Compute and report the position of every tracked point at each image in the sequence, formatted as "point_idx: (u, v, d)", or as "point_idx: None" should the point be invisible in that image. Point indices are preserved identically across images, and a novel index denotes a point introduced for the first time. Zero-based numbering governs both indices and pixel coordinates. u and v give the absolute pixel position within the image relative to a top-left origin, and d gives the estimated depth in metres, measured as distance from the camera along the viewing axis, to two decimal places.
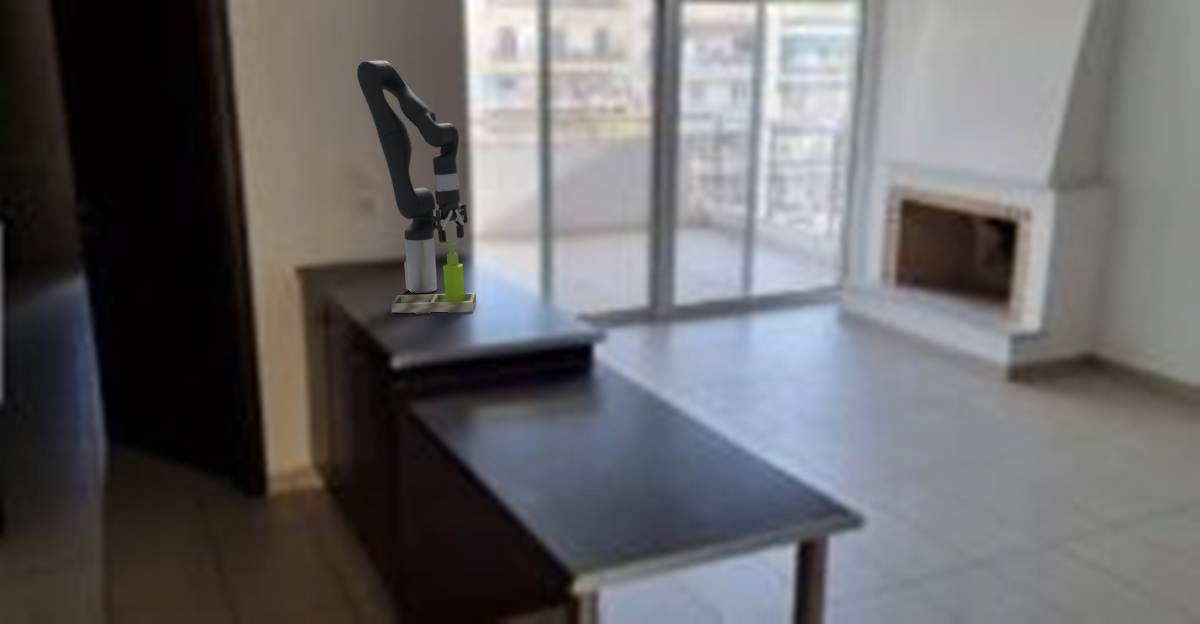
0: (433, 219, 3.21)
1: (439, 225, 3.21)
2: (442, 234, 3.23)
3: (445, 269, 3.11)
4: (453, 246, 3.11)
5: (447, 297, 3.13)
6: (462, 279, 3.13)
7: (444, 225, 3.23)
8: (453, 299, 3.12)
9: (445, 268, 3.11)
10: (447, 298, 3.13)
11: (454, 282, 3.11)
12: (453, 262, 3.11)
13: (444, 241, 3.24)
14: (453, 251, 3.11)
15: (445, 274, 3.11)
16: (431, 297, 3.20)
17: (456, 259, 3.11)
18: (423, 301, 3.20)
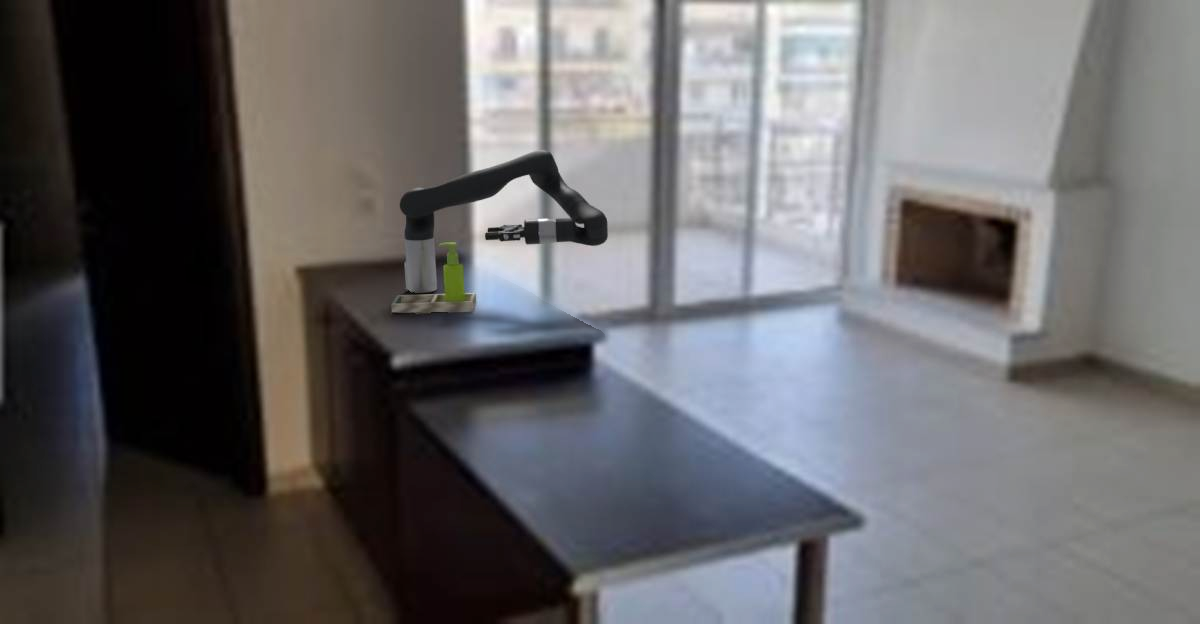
0: (509, 234, 3.03)
1: (503, 240, 3.04)
2: (493, 238, 3.06)
3: (445, 269, 3.11)
4: (453, 246, 3.11)
5: (447, 297, 3.13)
6: (462, 279, 3.13)
7: None
8: (453, 299, 3.12)
9: (445, 268, 3.11)
10: (447, 298, 3.13)
11: (454, 282, 3.11)
12: (453, 262, 3.11)
13: (486, 239, 3.06)
14: (453, 251, 3.11)
15: (445, 274, 3.11)
16: (431, 297, 3.20)
17: (456, 259, 3.11)
18: (423, 301, 3.20)
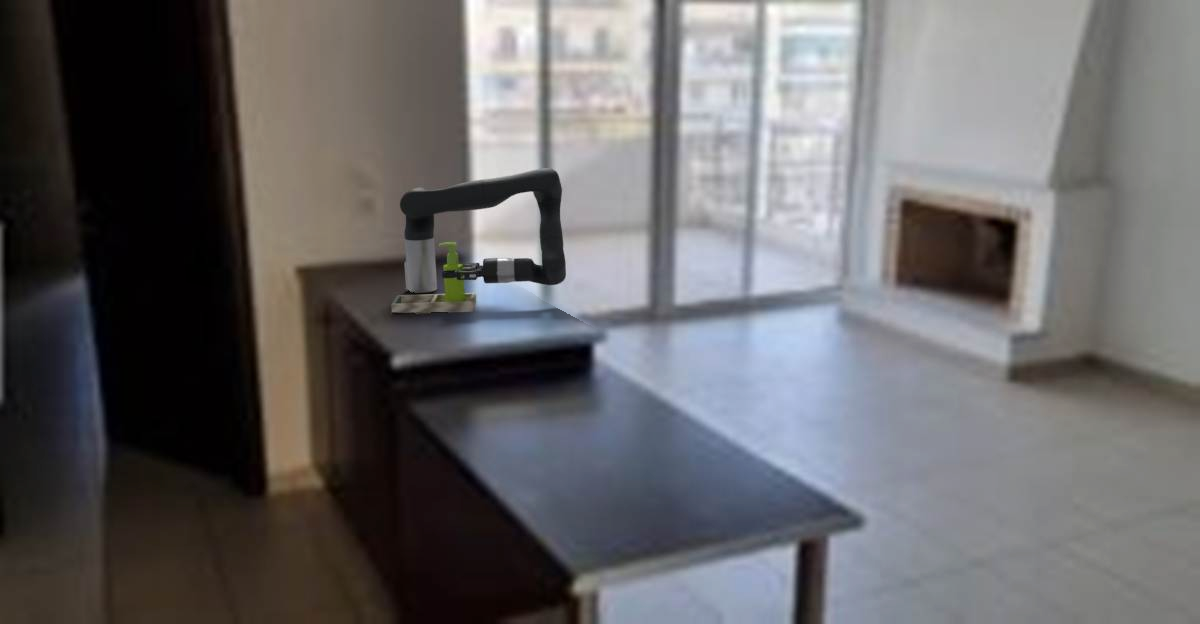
0: (465, 274, 3.07)
1: None
2: (450, 276, 3.09)
3: (445, 269, 3.11)
4: (453, 246, 3.11)
5: (447, 297, 3.13)
6: None
7: None
8: (453, 299, 3.12)
9: (445, 268, 3.11)
10: (447, 298, 3.13)
11: (454, 282, 3.11)
12: (453, 262, 3.11)
13: (443, 277, 3.10)
14: (453, 251, 3.11)
15: None
16: (431, 297, 3.20)
17: (456, 259, 3.11)
18: (423, 301, 3.20)
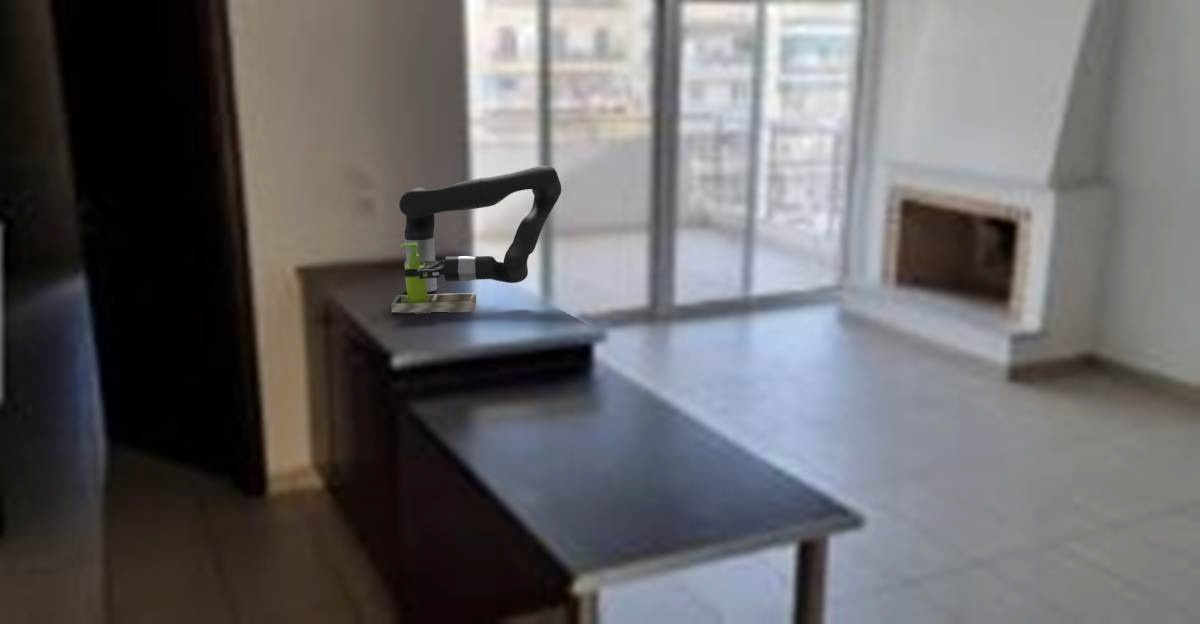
0: (428, 272, 3.06)
1: None
2: (413, 275, 3.08)
3: None
4: (414, 247, 3.10)
5: (409, 298, 3.12)
6: (424, 280, 3.12)
7: None
8: (415, 300, 3.12)
9: None
10: (409, 299, 3.12)
11: (416, 283, 3.10)
12: (415, 263, 3.10)
13: (405, 276, 3.08)
14: (415, 252, 3.10)
15: None
16: (431, 297, 3.20)
17: (418, 260, 3.11)
18: None
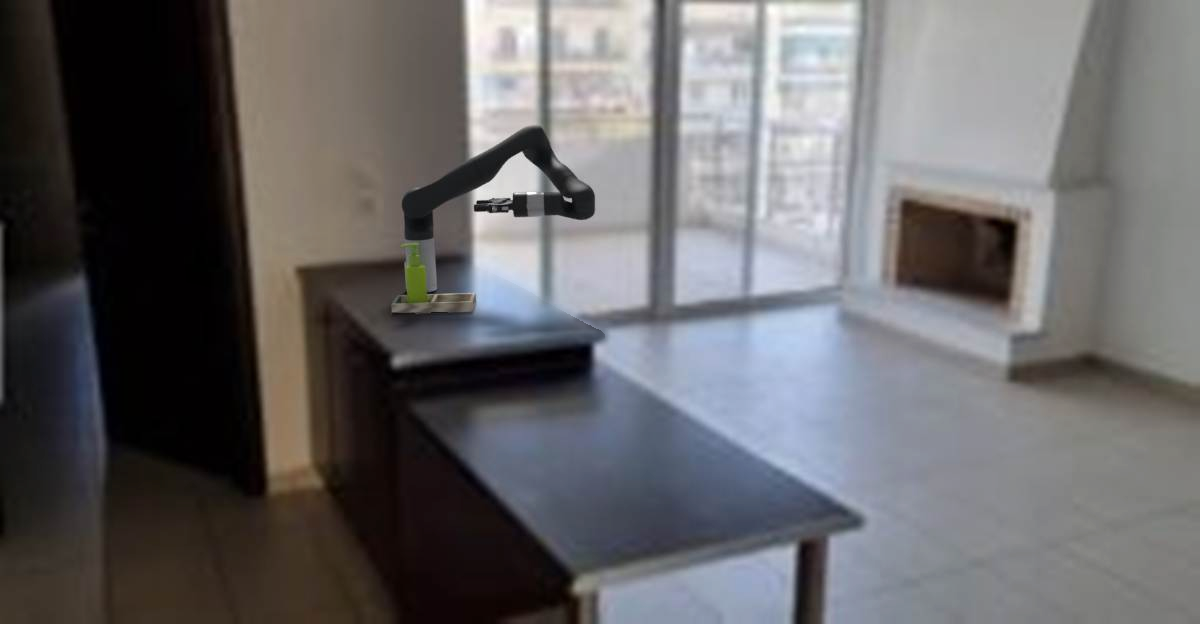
0: (498, 206, 3.07)
1: (492, 212, 3.08)
2: None
3: (407, 270, 3.10)
4: (415, 247, 3.10)
5: (409, 298, 3.12)
6: (424, 280, 3.12)
7: None
8: (415, 300, 3.12)
9: (407, 269, 3.10)
10: (409, 299, 3.12)
11: (416, 283, 3.10)
12: (415, 263, 3.10)
13: None
14: (415, 252, 3.11)
15: (407, 275, 3.11)
16: (431, 297, 3.20)
17: (418, 260, 3.11)
18: None
